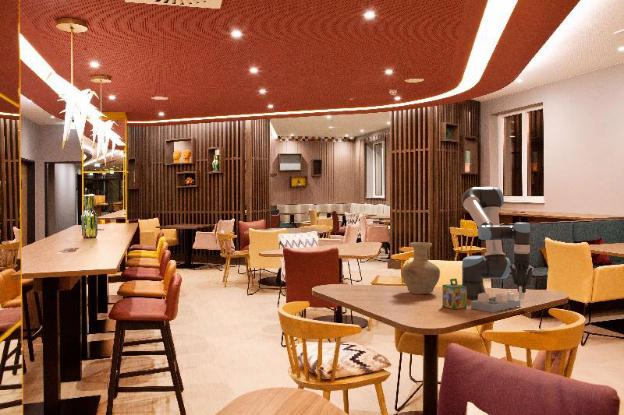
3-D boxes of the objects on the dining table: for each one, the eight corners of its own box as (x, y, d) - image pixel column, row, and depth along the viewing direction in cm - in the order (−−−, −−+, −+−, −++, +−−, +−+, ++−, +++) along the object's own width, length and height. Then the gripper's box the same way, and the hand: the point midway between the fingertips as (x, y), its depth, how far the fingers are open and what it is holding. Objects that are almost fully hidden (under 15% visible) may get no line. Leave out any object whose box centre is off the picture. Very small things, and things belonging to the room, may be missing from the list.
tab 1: (484, 306, 271) (484, 293, 271) (477, 304, 274) (477, 292, 274) (488, 305, 273) (488, 293, 273) (482, 303, 276) (482, 292, 276)
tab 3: (510, 304, 275) (510, 292, 274) (503, 303, 278) (503, 291, 278) (514, 303, 277) (514, 291, 277) (507, 302, 280) (507, 290, 280)
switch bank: (492, 312, 263) (492, 305, 263) (470, 308, 274) (470, 300, 274) (520, 306, 278) (520, 299, 278) (498, 302, 288) (498, 295, 288)
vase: (397, 295, 309) (398, 244, 308) (405, 289, 329) (405, 241, 329) (437, 298, 301) (437, 245, 300) (442, 291, 322) (442, 242, 321)
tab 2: (502, 306, 270) (502, 294, 270) (495, 304, 274) (495, 293, 274) (506, 305, 273) (506, 293, 272) (499, 304, 276) (500, 292, 276)
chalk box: (454, 309, 270) (454, 281, 269) (441, 306, 278) (441, 278, 277) (467, 308, 274) (467, 279, 274) (454, 304, 282) (455, 277, 282)
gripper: (506, 252, 274) (506, 297, 274) (529, 254, 264) (529, 301, 264) (514, 251, 278) (514, 296, 279) (537, 253, 268) (537, 299, 268)
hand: (521, 298), depth 271 cm, fingers closed
